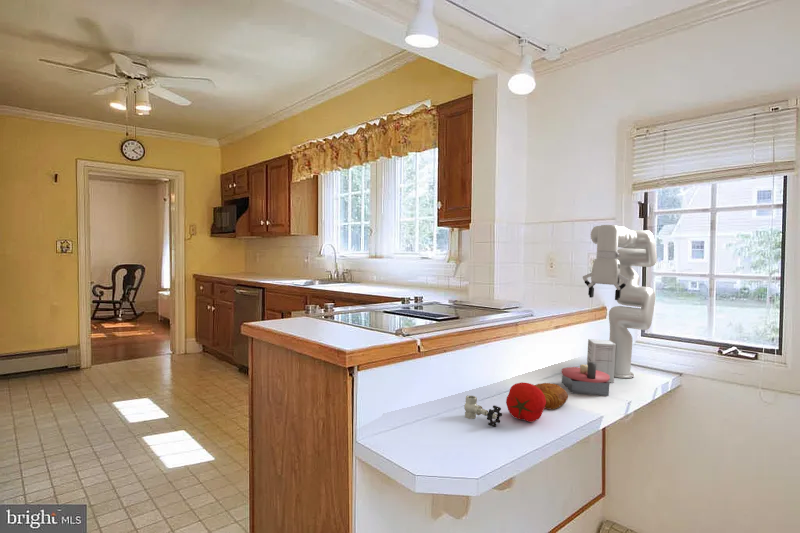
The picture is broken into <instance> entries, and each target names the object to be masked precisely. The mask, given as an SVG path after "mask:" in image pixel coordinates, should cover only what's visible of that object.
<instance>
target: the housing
mask: <svg viewBox="0 0 800 533" xmlns="http://www.w3.org/2000/svg"><path fill="white" fill-rule="evenodd" d="M561 384H562V385H563V386H564V387H565V388H566V389H567V391H569V392H570V394H575V395H576V394H577V395H590V396H604V397H610V396H609V393H610V382H603V383H593V382H584V381H578V380H574V379H571V378H568V377H565V376H564V375H562V374H561Z"/></svg>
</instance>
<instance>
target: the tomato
mask: <svg viewBox="0 0 800 533" xmlns="http://www.w3.org/2000/svg"><path fill="white" fill-rule="evenodd" d="M535 385H536V384H532V383H529V382H518V383H515V384H513V385H512V386H511V387H510V389H509V392H508V395H507V396H506V400H505V404H506V407H507V408H506V409H507V411H508V412H509V414H510V415H511V416H512V417H513V418H515V419H517V420H524V421H525V422H530V423H533V422H535V421H538V420H539V419H540V418H541V416H542V415H543V413H544V409H546V408H545V405H546V399H545V395H544V394H543V392H542V391H541V390H540V389H539V388H537V387H536V386H535Z"/></svg>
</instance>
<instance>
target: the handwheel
mask: <svg viewBox="0 0 800 533" xmlns="http://www.w3.org/2000/svg"><path fill="white" fill-rule="evenodd" d="M562 375H564V376H565V377H568V378H571V379H574V380H578V381H584V382H593V383H603V382H608V381H609V380H610V376H609V375H608V374H606V373H604V372H601V371H598V370H596V363H595V362H588V365H587V364H584V363H583V364H580V366H568V367H564V368H562V369H561V376H562ZM608 383H609V382H608Z"/></svg>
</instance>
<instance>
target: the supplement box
mask: <svg viewBox="0 0 800 533" xmlns="http://www.w3.org/2000/svg"><path fill="white" fill-rule="evenodd" d="M615 348H616V344H614V343H613V342H611V341H609V340H608V339H607V340H606V339H592V338H591V339H590V338H589V339H588V341H587V355H586V356H587V358H586V365H588V362H595V363H596V370H598V371H601V372H604V373H606V374H608V375H609V376H610V380H609V381H608V383H610V382H611V383H612V384H614V381H615V377H614V368H615Z"/></svg>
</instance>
